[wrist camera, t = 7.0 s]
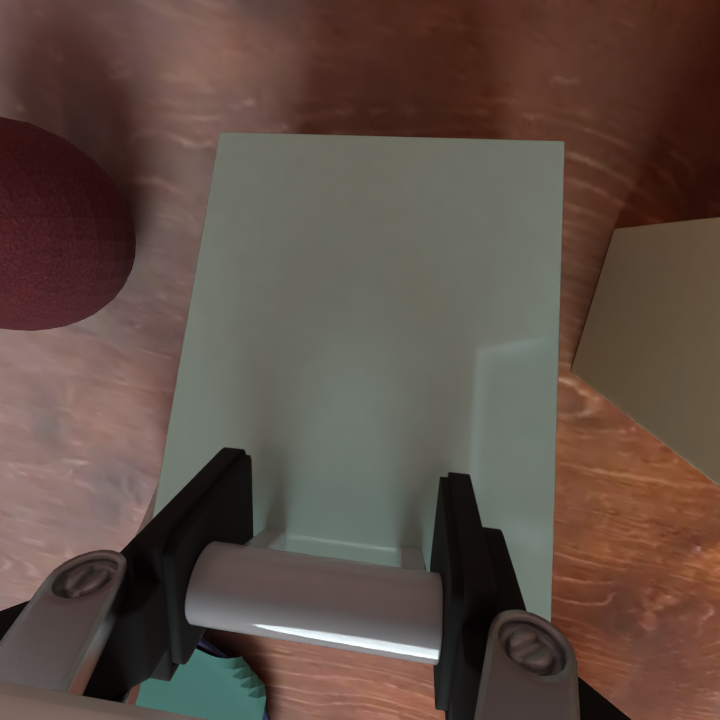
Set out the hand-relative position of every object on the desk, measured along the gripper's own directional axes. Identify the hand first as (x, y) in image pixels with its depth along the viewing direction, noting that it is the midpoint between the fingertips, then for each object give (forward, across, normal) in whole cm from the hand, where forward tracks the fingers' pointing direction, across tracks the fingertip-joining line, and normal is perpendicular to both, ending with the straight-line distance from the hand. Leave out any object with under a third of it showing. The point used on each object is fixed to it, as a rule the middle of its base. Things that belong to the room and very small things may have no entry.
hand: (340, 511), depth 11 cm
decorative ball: (+15, +18, -7) cm, 24 cm away
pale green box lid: (+4, 0, -3) cm, 5 cm away
